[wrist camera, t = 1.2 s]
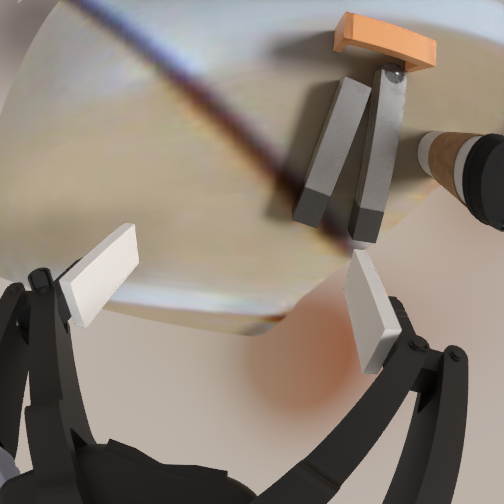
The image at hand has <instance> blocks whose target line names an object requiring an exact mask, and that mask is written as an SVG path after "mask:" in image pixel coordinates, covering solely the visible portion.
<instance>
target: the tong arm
mask: <svg viewBox="0 0 504 504" xmlns="http://www.w3.org/2000/svg"><path fill="white" fill-rule="evenodd" d="M371 89H372V88H370V87H368V86H366V85H364V84H362V83H359V82H357V81H355V80H353V79H350V78H348V77H346V76H345V77H344V78H342V79H340V82H339V84H338V87H337V90H336V93H335V96H334V99H333V101H332V104H331V107H330V110H329V113H328V115H327V118H326V121H325V124H324V126H323V129H322V132H321V135H320V137H319V140H318V143H317V145H316V148H315V151H314V154H313V156H312V159H311V162H310V164H309V167H308V170H307V172H306V175H305V178H304V180H303V183H302V185H301V188H300V191H299V193H298V196H297V199H296V201H295V204H294V206H293V209H292V220H295V221H297V222H300V223H303V224H306V225H309V226H312V227H314V228H317V227H318V225H319V223H320V220H321V218H322V216H323V213H324V211H325V209H326V206H327V204H328V202H329V199H330V196H331V194H332V191H333V189H334V187H335V184H336V182H337V179H338V177H339V174H340V172H341V169H342V167H343V164H344V162H345V159H346V157H347V154H348V152H349V149H350V146H351V144H352V141H353V139H354V136H355V133H356V131H357V128H358V125H359V123H360V120H361V117H362V114H363V112H364V109H365V106H366V103H367V100H368V98H369V95H370V92H371Z"/></svg>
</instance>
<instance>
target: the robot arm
mask: <svg viewBox="0 0 504 504" xmlns="http://www.w3.org/2000/svg"><path fill="white" fill-rule="evenodd" d="M138 264H139V258H138V250H137V242H136V234H135V224H129V223H124V224H122V225H121V226H120V227H119V228H118V229H116V230H115V231H114V232H113V233H111V234H110V235H109V236H108V237H107V238H105V239H104V240H103V241H102V242H101V243H100V244H98V245H97V246H96V247H95V248H94V249H93V250H91V251H90V252H89V253H88V254H87V255H86V256H85V257H82V258H81V259H79V260H77V261H75V262H74V263H73V264H72V265H71V266H70V267H69V268H67V269H66V271H64V272H63V273H62V274H61V275H60V276H59V277H58V278H57V279H56V280H55V281H54V282H53V279H52V276H51V273H50V269H48V268H38V269H36V270H34V271H32V272H31V273H30V274H29V275H28V281H29V283H30V286H31V289H32V291H26V290H25V288H24V285H23V284H22V283H20V282H17V283H13V284H11V285H10V286H8V287H7V288H6V290H5V291H4V293H3V295H2V297H1V299H0V504H327V503H328V502H329V501H330V500H331V498H333V496H334V495H335V494H336V493H337V492H338V490H339V489H340V486H341V485H342V484H343V483H344V481H345V480H346V479H347V478H348V477H349V476H350V474H351V473H352V472H353V471H354V470H355V468H356V467H357V466H358V465H359V464H360V462H361V461H362V460H363V459H364V457H365V456H366V455H367V453H368V452H369V451H370V449H371V448H372V447H373V445H374V444H375V443H376V441H377V440H378V438H379V437H380V436H381V434H382V433H383V431H384V430H385V429H386V427H387V426H388V424H389V423H390V421H391V420H392V418H393V416H394V415H395V413H396V412H397V410H398V409H399V407H400V405H401V404H402V402H403V400H404V399H405V397H406V395H407V394H408V392H409V390H411V391H415V392H418V393H417V398H416V402H415V407H414V411H413V415H412V419H411V423H410V427H409V430H408V434H407V438H406V441H405V444H404V447H403V451H402V454H401V457H400V460H399V463H398V465H397V468H396V471H395V474H394V476H393V479H392V481H391V484H390V486H389V489H388V491H387V494H386V496H385V499H384V501H383V503H382V504H451V501H452V498H453V494H454V490H455V486H456V482H457V477H458V473H459V468H460V463H461V457H462V450H463V444H464V437H465V428H466V418H467V404H468V357H467V355H466V353H465V351H463V350H462V349H461V348H460V347H458V346H454V345H450V346H448V347H447V348H446V349H445V350H444V352H440V351H436V350H432V349H430V347H429V344H428V343H427V341H426V340H425V339H424V338H422V337H420V336H418V335H416V334H415V331H414V329H413V327H412V324H411V322H410V320H409V318H408V317H407V314H406V312H405V309H404V307H403V305H402V303H401V302H400V301H399V300H398V299H397V298H396V297H392V296H387V294H386V292H385V289H384V287H383V285H382V283H381V280H380V278H379V276H378V274H377V272H376V270H375V268H374V266H373V263H372V261H371V259H370V257H369V255H368V253H367V251H364V250H357V249H354V251H353V255H352V259H351V263H350V267H349V270H348V274H347V277H346V281H345V285H344V288H343V290H344V294H345V297H346V302H347V306H348V310H349V314H350V319H351V323H352V327H353V332H354V336H355V341H356V345H357V350H358V355H359V360H360V365H361V370H362V374H378V372H379V371H380V369H381V367H382V366H383V370H382V372H381V373H380V374H379V376H378V377H377V378H376V379H375V381H374V382H373V383H372V385H371V386H370V387H369V389H368V390H367V391H366V392H365V394H364V395H363V396H362V398H361V399H360V400H359V401H358V402H357V403H356V405H355V406H354V407H353V408H352V409H351V411H350V412H349V413H348V414H347V415H346V416H345V418H344V419H343V420H342V421H341V422H340V423H339V424H338V425H337V426H336V427H335V428H334V430H333V431H332V432H331V433H330V434H329V435H328V436H327V437H326V438H325V439H324V440H323V441H322V442H321V443H320V444H319V445H318V446H317V447H316V448H315V449H314V450H313V451H312V452H311V453H310V454H309V455H308V456H307V457H306V458H305V459H303V460H301V461H300V462H299V463H297V464H296V465H295V466H294V467H293V468H292V469H291V470H289V471H288V472H287V473H286V474H285V475H284V476H282V477H281V478H280V479H279V480H278V481H277V482H275V483H274V484H273V485H272V486H270V487H269V488H268V489H267V490H266V491H264V492H263V493H262V494H260V495H259V496H257V495H256V494H255V493H254V492H253V491H252V490H251V489H249V488H248V487H247V486H245V485H244V484H242V483H240V482H239V481H237V480H235V479H232V478H230V477H227V475H228V472H227V471H224V470H218V469H213V468H208V467H203V466H198V465H170V464H162V463H159V462H158V461H156V460H154V459H152V458H151V457H149V456H147V455H146V454H144V453H143V452H141V451H139V450H138V449H136V448H134V447H131V446H128V445H125V444H123V443H120V442H118V441H115V440H112V439H109V441H108V444H97V443H96V441H95V440H94V438H93V436H92V433H91V430H90V427H89V424H88V420H87V416H86V413H85V409H84V405H83V401H82V396H81V392H80V388H79V383H78V378H77V373H76V367H75V362H74V356H73V349H72V341H71V334H70V326H69V323H68V320H69V319H70V317H72V319H73V322H74V324H75V325H76V326H79V327H81V328H85V329H86V328H87V327H88V325H89V324H90V323H91V321H92V320H93V319H94V318H95V316H96V315H97V314H98V312H99V311H100V310H101V309H102V307H103V306H104V305H105V304H106V302H107V301H108V300H109V298H110V297H111V296H112V295H113V294H114V292H115V291H116V290H117V289H118V287H119V286H120V285H121V284H122V283H123V281H124V280H125V279H126V278H127V277H128V275H129V274H130V273H131V272H132V271H133V269H134V268H135V267H136V266H137V265H138ZM17 324H18V325H17ZM28 370H29V385H30V400H31V405H30V406H26V407H25V423H26V431H27V437H28V444H29V450H30V455H31V460H32V465H33V470H30V471H28V472H26V473H23V474H20V471H19V469H18V468H17V467H16V466H15V462H14V460H15V457H16V452H17V446H18V437H19V427H20V418H21V410H22V403H23V397H24V391H25V385H26V380H27V375H28Z"/></svg>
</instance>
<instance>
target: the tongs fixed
mask: <svg viewBox="0 0 504 504" xmlns="http://www.w3.org/2000/svg"><path fill="white" fill-rule="evenodd" d="M406 82H407V77H405V75H404V71H403V69H402V68H401V67H400V66H399V65H398V64H395V63H389V64H387V65H385V66H382V67H380V68H379V69H378V70H377V72H374V77H373V87H372V96H371V104H370V112H369V120H368V127H367V133H366V140H365V146H364V152H363V158H362V164H361V169H360V174H359V180H358V185H357V190H356V195H355V199H354V204H353V209H352V213H351V217H350V222H349V226H348V231H349V233H350V235H351V237H352V240H357V241H364V242H370V243H376V240H377V236H378V233H379V229H380V226H381V222H382V218H383V214H384V209H385V205H386V201H387V197H388V192H389V188H390V184H391V179H392V174H393V169H394V164H395V159H396V154H397V149H398V143H399V137H400V131H401V124H402V117H403V109H404V101H405V92H406Z"/></svg>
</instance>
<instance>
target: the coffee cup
mask: <svg viewBox="0 0 504 504" xmlns="http://www.w3.org/2000/svg"><path fill="white" fill-rule="evenodd" d="M417 155H418V161H419V164H420V166H421V167H422V169H423V170H424V171H425V172H426V173H427V174H428V175H430V176H431V177H432V178H434V179H435V180H436V181H437V182H438V183H440V184H441V185H442V186H443V187H444V188H446V189H447V190H448V191H449V192H450V193H451V194H452V195H454V196H455V197H456V198H457V199H458V200H459V201H460V202H461V203H462V204H464V205H465V206H466V207H467V208H468V210H469V211H470V212H471V214H472V215H473V216H474V217H475V218H476V219H478V220H479V221H480V222H482V223H484V224H486V225H490V226H492V227H493V228H495V229H497V230H499V231H502V232H503V231H504V136H503V135H499V134H487V135H484V134H475V133H458V132H436V131H434V132H430V133H427V134H426V135H425V136H424V137H423V138H422V139H421V141H420V143H419V146H418V151H417Z"/></svg>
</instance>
